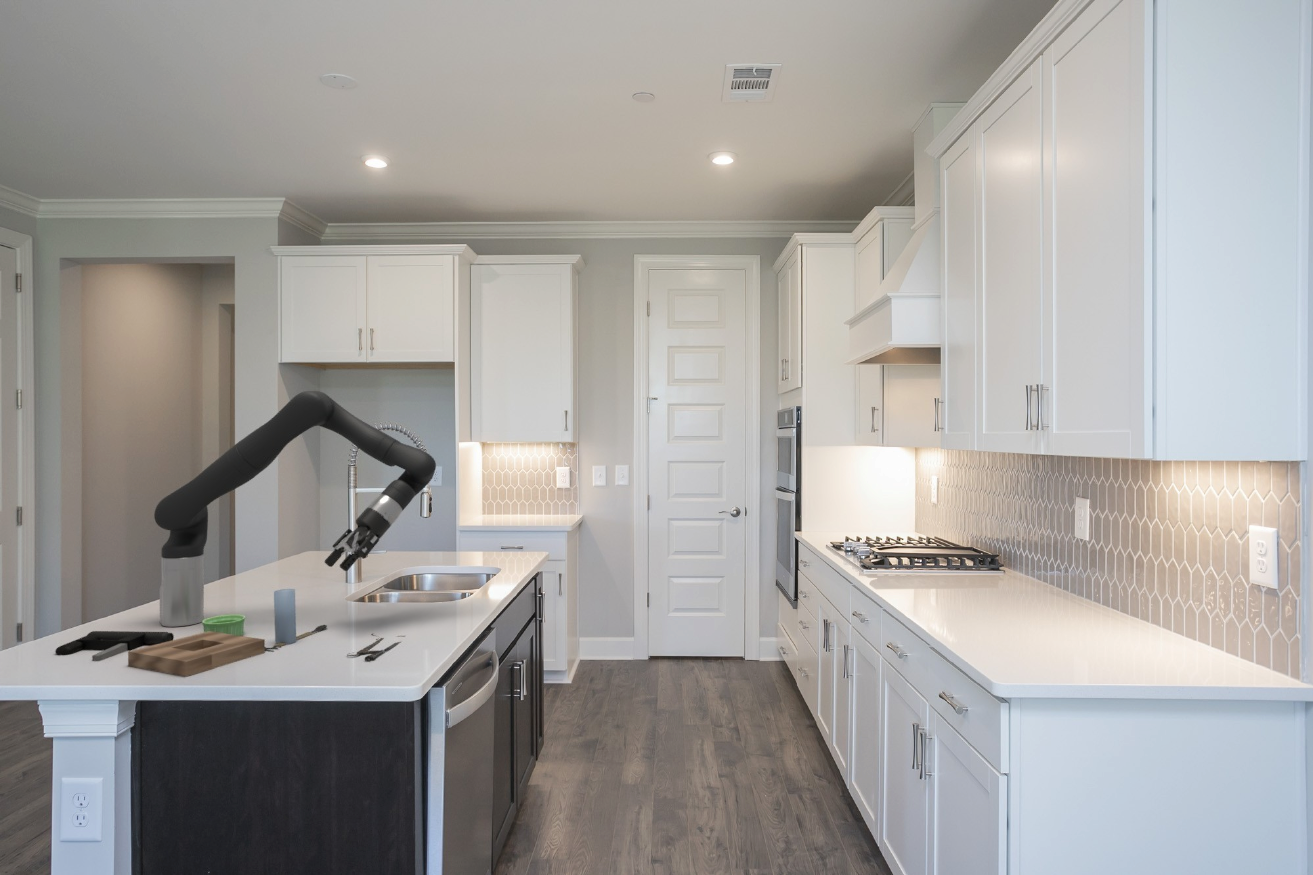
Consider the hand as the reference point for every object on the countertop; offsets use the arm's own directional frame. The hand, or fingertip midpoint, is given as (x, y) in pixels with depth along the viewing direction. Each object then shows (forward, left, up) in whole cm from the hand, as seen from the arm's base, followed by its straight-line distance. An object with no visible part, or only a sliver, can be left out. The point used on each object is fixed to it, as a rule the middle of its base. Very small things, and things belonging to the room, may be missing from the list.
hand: (334, 566), depth 184 cm
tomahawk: (-3, -8, -17) cm, 19 cm away
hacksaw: (+17, -5, -17) cm, 24 cm away
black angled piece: (-35, -31, -17) cm, 50 cm away
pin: (-4, -11, -16) cm, 20 cm away
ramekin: (-22, -13, -16) cm, 30 cm away
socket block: (-10, -28, -16) cm, 34 cm away
